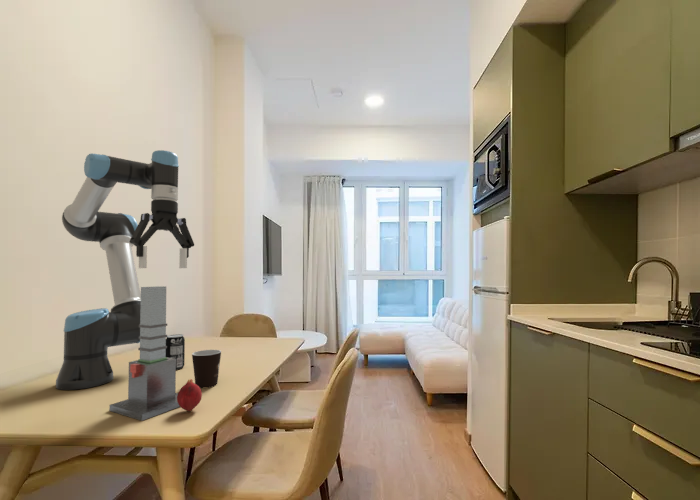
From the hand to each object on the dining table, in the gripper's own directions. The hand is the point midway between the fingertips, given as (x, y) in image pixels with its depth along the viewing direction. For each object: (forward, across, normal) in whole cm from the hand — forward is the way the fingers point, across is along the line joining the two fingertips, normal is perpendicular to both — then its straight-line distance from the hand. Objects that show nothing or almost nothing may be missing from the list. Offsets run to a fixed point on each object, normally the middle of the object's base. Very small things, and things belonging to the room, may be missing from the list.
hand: (163, 268), depth 115 cm
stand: (+37, -11, -12) cm, 40 cm away
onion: (+37, -9, -24) cm, 45 cm away
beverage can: (+37, +17, +18) cm, 44 cm away
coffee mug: (+37, +10, -9) cm, 39 cm away
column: (+27, -11, -12) cm, 32 cm away
